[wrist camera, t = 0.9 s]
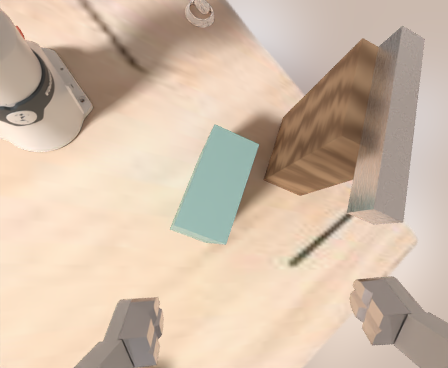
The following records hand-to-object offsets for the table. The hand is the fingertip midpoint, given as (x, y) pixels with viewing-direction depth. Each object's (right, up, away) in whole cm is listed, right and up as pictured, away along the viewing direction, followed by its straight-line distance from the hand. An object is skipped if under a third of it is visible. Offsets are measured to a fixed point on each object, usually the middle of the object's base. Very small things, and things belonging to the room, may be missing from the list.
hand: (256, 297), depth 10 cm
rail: (+20, +13, +24) cm, 34 cm away
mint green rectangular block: (-6, +2, +42) cm, 43 cm away
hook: (-8, +49, +53) cm, 72 cm away
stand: (+15, +12, +50) cm, 54 cm away
